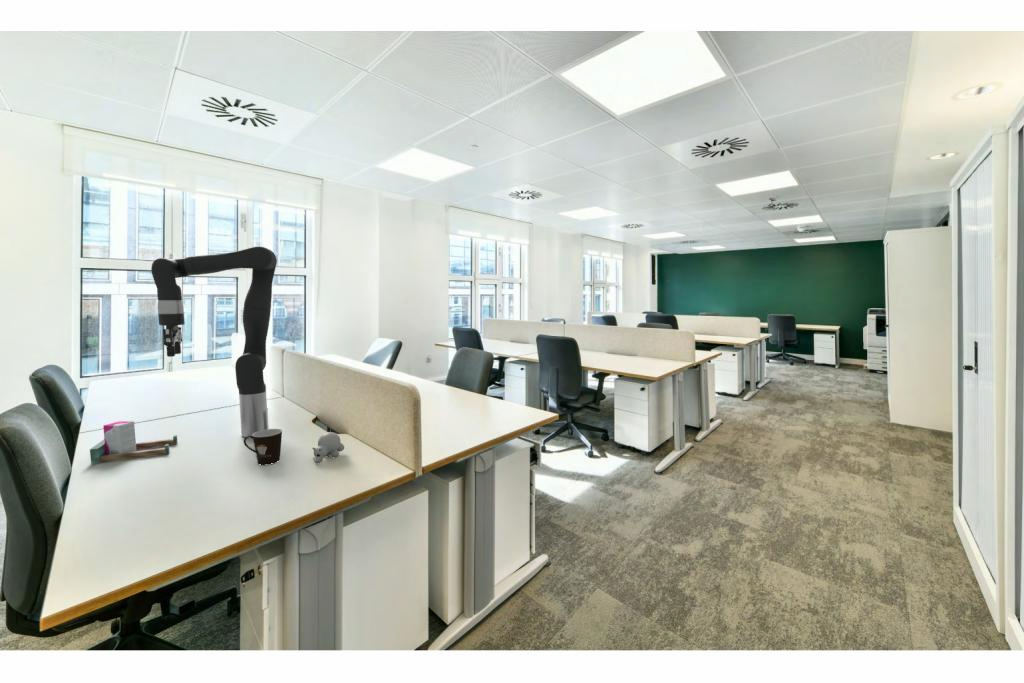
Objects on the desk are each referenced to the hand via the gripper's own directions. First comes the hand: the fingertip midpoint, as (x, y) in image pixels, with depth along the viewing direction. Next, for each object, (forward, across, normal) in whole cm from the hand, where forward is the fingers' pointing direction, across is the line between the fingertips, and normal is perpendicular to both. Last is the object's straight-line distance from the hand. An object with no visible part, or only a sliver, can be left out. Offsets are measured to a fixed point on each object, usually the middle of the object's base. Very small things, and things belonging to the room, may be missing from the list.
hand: (174, 355), depth 155 cm
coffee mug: (+33, -39, -31) cm, 60 cm away
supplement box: (+33, -11, +14) cm, 38 cm away
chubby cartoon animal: (+33, -46, -49) cm, 75 cm away
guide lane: (+33, -11, +10) cm, 36 cm away
